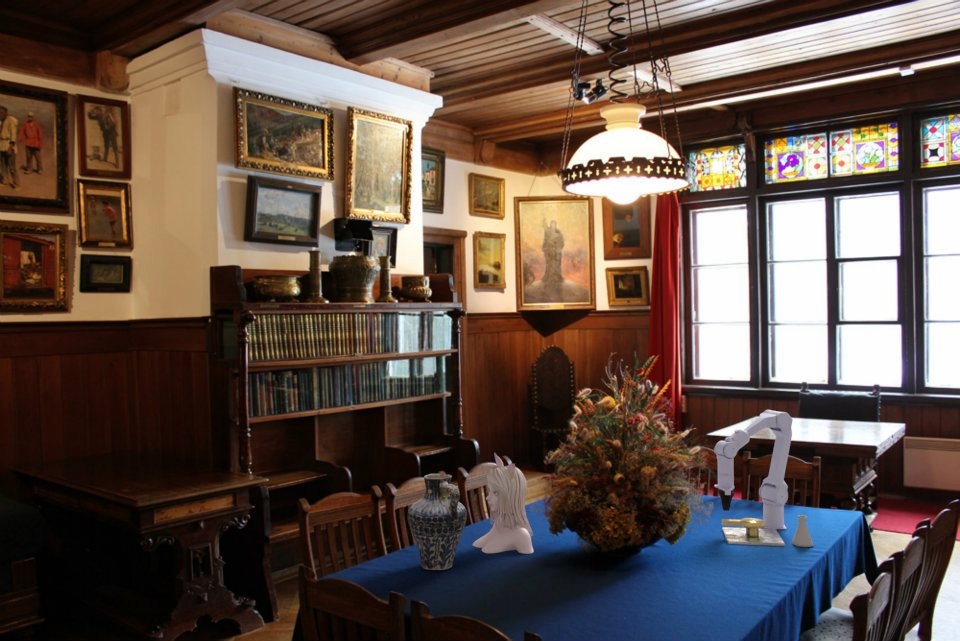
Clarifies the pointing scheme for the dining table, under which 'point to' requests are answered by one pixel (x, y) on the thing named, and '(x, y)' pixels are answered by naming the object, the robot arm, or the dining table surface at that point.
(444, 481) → the jug
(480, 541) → the figurine bust
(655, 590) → the dining table surface
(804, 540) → the flask
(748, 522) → the gold bar with disc
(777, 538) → the base plate
